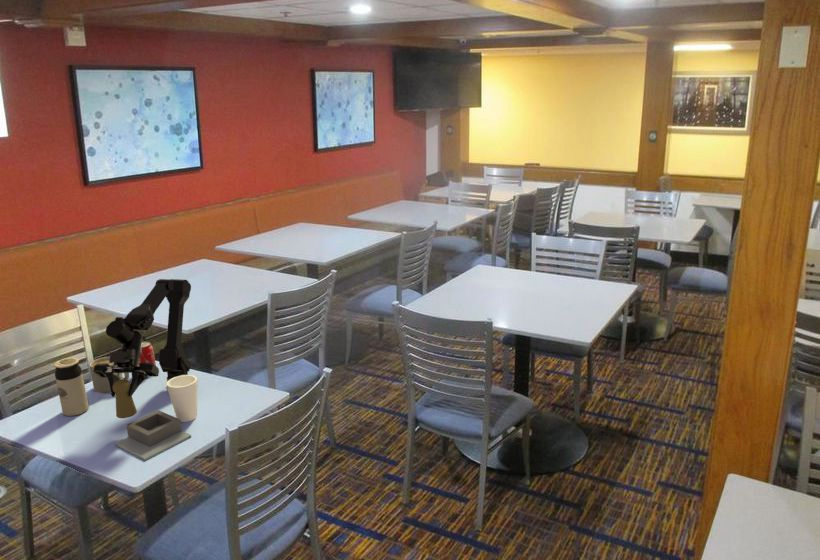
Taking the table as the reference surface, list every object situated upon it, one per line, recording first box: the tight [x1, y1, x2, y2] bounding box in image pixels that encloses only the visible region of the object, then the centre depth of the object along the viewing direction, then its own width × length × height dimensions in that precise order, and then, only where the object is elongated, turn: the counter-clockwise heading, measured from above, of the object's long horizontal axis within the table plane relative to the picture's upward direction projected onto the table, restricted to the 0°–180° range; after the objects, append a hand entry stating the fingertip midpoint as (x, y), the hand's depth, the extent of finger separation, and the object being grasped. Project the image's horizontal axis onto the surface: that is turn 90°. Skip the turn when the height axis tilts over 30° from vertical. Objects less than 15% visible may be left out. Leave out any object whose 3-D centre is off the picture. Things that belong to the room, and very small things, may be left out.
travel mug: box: [53, 357, 90, 417], centre depth 223 cm, size 8×8×18 cm
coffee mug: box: [89, 355, 130, 394], centre depth 241 cm, size 13×10×10 cm
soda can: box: [137, 341, 157, 377], centre depth 251 cm, size 7×7×12 cm
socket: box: [114, 410, 192, 461], centre depth 204 cm, size 16×16×5 cm
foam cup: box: [166, 374, 199, 423], centre depth 217 cm, size 10×9×13 cm
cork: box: [113, 379, 138, 419], centre depth 207 cm, size 6×6×11 cm
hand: (121, 396), depth 205 cm, fingers closed on cork, 5 cm apart
